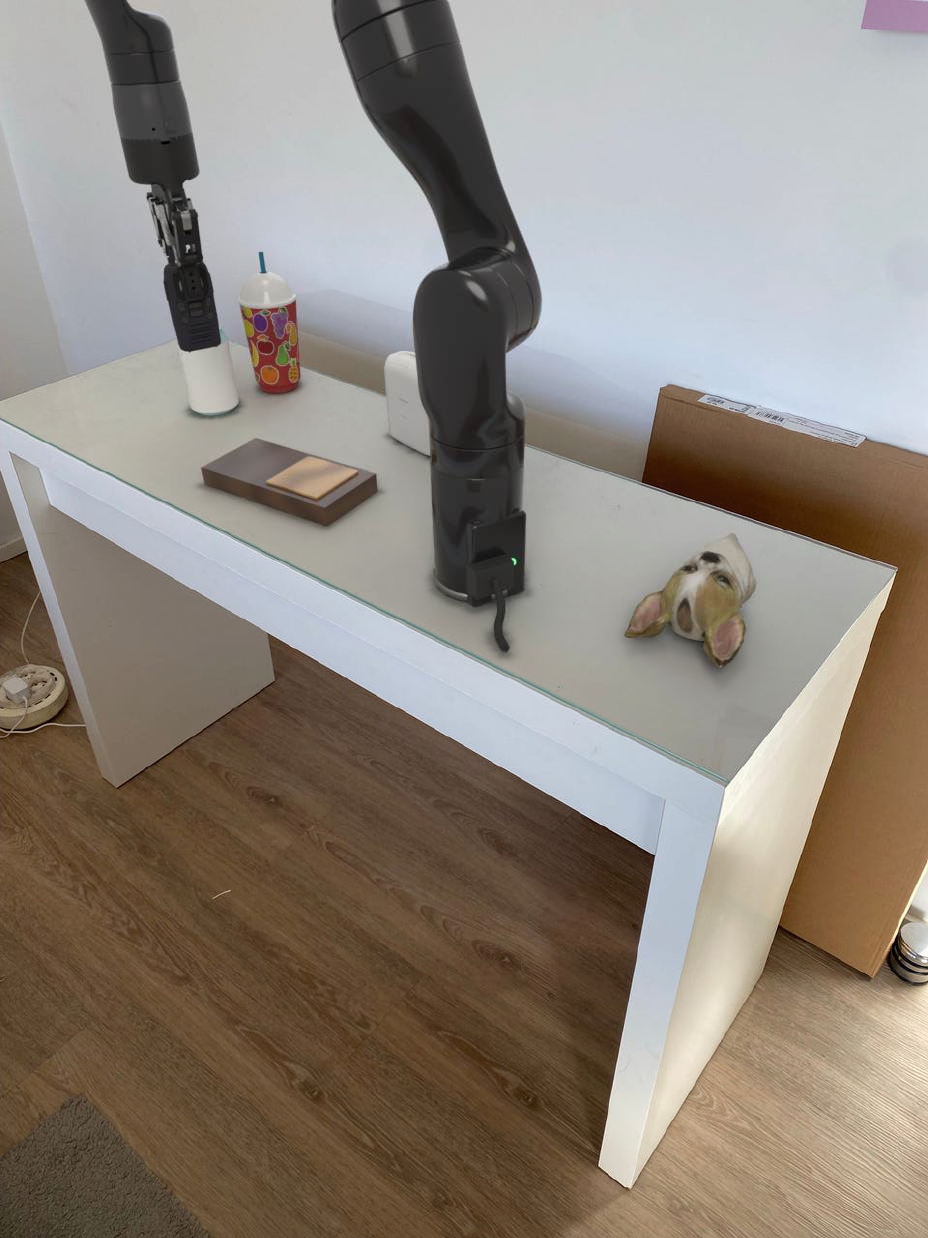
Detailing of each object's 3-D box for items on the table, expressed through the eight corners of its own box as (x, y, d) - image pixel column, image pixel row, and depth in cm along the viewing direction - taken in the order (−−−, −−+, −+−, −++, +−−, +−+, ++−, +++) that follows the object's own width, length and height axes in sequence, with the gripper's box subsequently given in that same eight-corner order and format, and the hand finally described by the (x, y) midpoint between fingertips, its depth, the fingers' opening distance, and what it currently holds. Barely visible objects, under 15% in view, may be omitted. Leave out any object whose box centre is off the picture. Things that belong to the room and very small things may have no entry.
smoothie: (289, 372, 146) (271, 241, 134) (316, 387, 141) (301, 252, 129) (242, 385, 142) (220, 251, 130) (269, 401, 136) (249, 263, 125)
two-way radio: (182, 356, 108) (153, 221, 99) (171, 345, 111) (142, 213, 102) (227, 346, 110) (202, 213, 101) (215, 336, 113) (190, 207, 104)
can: (248, 406, 135) (235, 326, 128) (208, 421, 131) (192, 339, 124) (221, 394, 139) (207, 315, 132) (181, 408, 135) (164, 328, 128)
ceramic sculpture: (790, 532, 87) (736, 619, 77) (775, 603, 92) (724, 693, 83) (684, 505, 92) (621, 584, 82) (676, 574, 97) (616, 656, 88)
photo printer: (384, 435, 126) (377, 348, 119) (409, 427, 129) (404, 340, 121) (429, 461, 120) (425, 370, 113) (454, 451, 122) (452, 362, 115)
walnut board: (377, 491, 113) (376, 471, 112) (327, 526, 107) (324, 505, 105) (258, 454, 122) (255, 435, 120) (204, 485, 115) (200, 465, 114)
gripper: (107, 126, 101) (143, 284, 111) (133, 142, 90) (171, 315, 100) (174, 119, 103) (204, 274, 113) (208, 134, 93) (237, 304, 103)
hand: (188, 293), depth 107 cm, fingers closed on two-way radio, 4 cm apart
